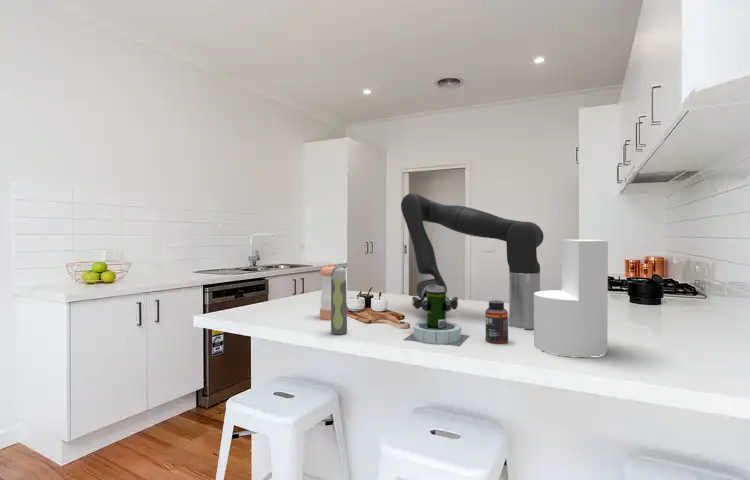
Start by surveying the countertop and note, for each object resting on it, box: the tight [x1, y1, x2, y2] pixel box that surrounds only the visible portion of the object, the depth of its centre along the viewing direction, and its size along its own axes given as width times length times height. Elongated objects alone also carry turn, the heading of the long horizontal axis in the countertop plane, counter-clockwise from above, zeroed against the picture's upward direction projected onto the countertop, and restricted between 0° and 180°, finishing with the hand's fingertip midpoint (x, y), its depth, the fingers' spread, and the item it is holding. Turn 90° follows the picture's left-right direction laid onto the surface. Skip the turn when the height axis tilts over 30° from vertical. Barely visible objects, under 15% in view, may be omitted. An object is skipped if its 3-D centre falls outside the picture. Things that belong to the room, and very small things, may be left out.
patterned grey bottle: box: [330, 266, 348, 336], centre depth 126 cm, size 5×5×20 cm
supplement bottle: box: [484, 299, 509, 345], centre depth 114 cm, size 6×6×11 cm
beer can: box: [426, 286, 447, 330], centre depth 118 cm, size 5×5×12 cm
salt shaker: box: [319, 263, 336, 321], centre depth 148 cm, size 7×7×19 cm
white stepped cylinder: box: [533, 239, 609, 357], centre depth 108 cm, size 17×17×28 cm
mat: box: [402, 333, 470, 347], centre depth 118 cm, size 16×12×1 cm
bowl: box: [412, 320, 462, 345], centre depth 118 cm, size 13×13×3 cm
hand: (436, 307), depth 116 cm, fingers closed on beer can, 5 cm apart
